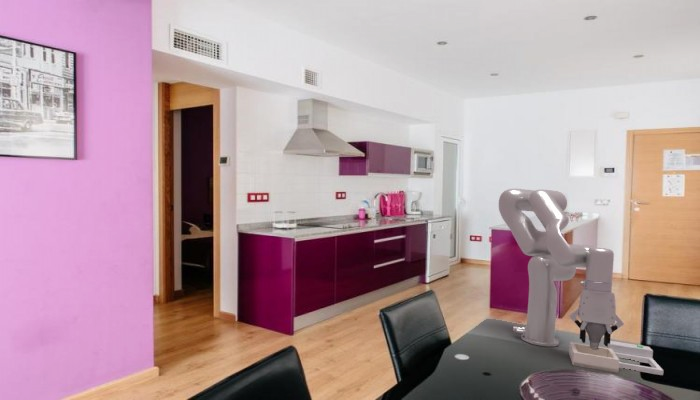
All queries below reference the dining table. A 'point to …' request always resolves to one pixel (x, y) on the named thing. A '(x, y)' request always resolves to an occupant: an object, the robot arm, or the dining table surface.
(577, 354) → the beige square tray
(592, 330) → the light bulb
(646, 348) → the tester cradle
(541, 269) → the robot arm
